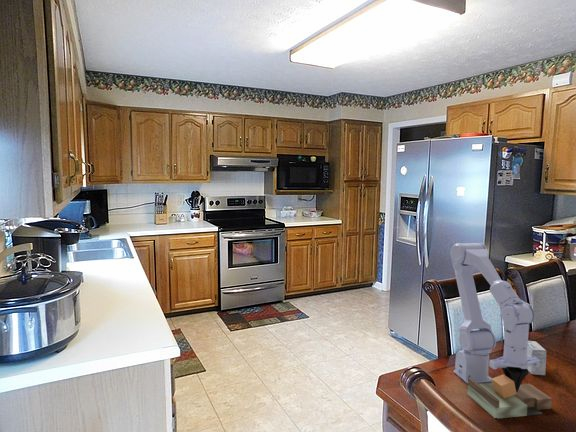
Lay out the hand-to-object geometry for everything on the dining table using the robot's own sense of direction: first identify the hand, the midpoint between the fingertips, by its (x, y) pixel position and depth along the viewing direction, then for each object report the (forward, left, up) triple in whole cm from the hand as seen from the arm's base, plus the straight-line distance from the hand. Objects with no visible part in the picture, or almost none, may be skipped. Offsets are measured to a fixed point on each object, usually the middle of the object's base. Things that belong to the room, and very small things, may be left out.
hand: (512, 390), depth 107 cm
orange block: (-3, 0, 0) cm, 3 cm away
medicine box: (+22, +17, -4) cm, 28 cm away
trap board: (-1, 0, -4) cm, 4 cm away
